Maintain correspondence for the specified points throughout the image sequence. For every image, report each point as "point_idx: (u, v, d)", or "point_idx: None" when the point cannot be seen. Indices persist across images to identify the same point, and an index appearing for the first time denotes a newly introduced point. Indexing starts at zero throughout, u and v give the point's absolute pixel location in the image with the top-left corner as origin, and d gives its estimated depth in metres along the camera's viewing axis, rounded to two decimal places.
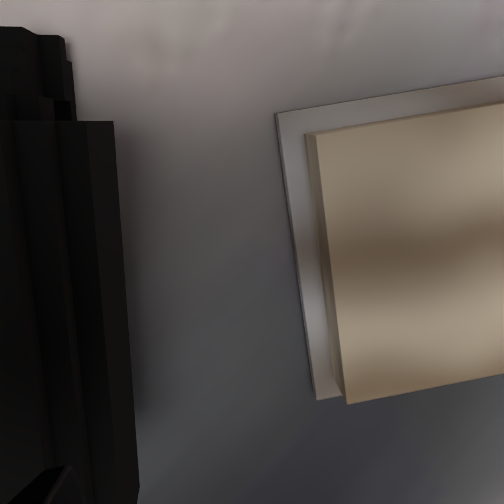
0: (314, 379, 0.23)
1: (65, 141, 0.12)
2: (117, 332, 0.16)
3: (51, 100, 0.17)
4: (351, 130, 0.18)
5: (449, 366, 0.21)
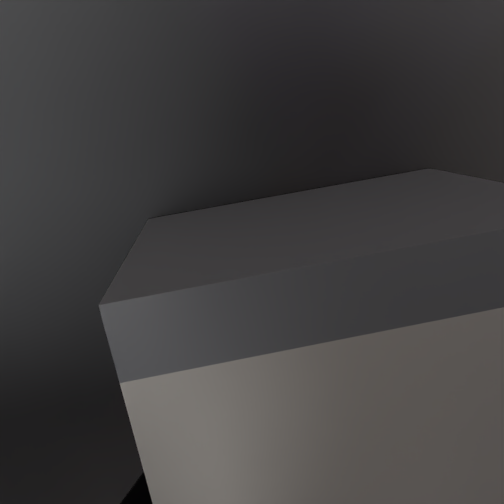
0: None
1: None
2: None
3: None
4: None
5: None
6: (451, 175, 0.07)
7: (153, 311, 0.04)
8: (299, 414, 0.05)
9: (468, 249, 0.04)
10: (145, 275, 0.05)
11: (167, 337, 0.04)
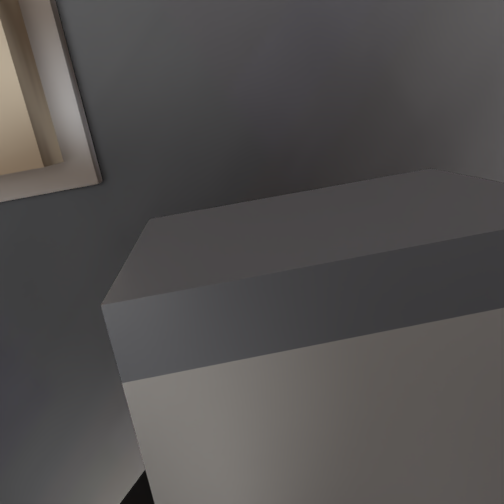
0: None
1: None
2: None
3: None
4: None
5: None
6: (452, 175, 0.07)
7: (155, 311, 0.04)
8: (301, 415, 0.05)
9: (470, 249, 0.04)
10: (147, 275, 0.05)
11: (169, 337, 0.04)
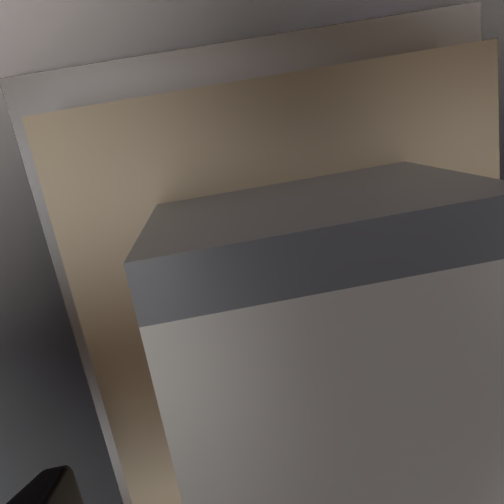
0: None
1: None
2: None
3: None
4: (99, 106, 0.09)
5: None
6: (421, 166, 0.09)
7: (166, 269, 0.05)
8: (283, 356, 0.06)
9: (418, 221, 0.06)
10: (159, 243, 0.06)
11: (177, 290, 0.05)
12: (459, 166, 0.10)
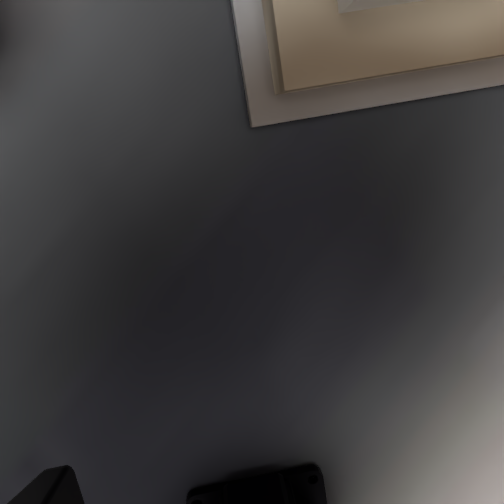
0: (248, 94, 0.17)
1: None
2: None
3: None
4: None
5: (428, 36, 0.15)
6: None
7: None
8: None
9: None
10: None
11: None
12: None
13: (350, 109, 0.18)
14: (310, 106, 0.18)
